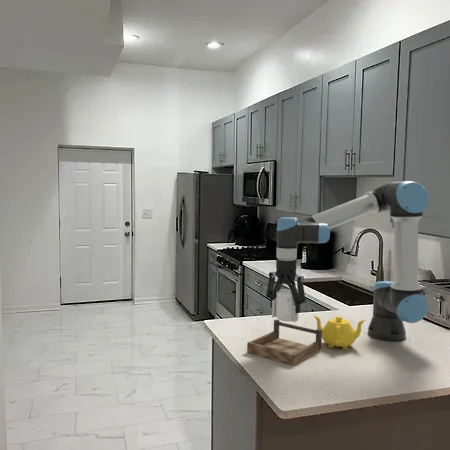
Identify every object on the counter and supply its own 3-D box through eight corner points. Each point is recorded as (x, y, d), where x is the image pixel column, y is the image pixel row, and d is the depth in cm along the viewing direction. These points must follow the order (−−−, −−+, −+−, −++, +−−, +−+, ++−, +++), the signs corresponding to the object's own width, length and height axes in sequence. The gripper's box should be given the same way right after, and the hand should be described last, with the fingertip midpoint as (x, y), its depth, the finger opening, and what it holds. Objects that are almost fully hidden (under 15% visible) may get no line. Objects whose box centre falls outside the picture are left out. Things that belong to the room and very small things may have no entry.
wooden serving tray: (321, 350, 175) (321, 329, 174) (294, 366, 159) (295, 343, 158) (275, 339, 188) (276, 319, 187) (246, 352, 172) (247, 331, 171)
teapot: (310, 349, 176) (311, 320, 175) (313, 337, 190) (314, 310, 189) (364, 355, 170) (366, 325, 169) (364, 342, 184) (365, 314, 183)
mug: (297, 325, 165) (297, 297, 164) (274, 323, 167) (274, 295, 166) (298, 316, 177) (299, 289, 176) (277, 314, 178) (277, 288, 178)
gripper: (316, 261, 167) (314, 322, 169) (268, 254, 180) (266, 311, 182) (307, 263, 161) (304, 326, 163) (257, 256, 174) (255, 315, 176)
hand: (284, 318), depth 172 cm, fingers closed on mug, 8 cm apart
